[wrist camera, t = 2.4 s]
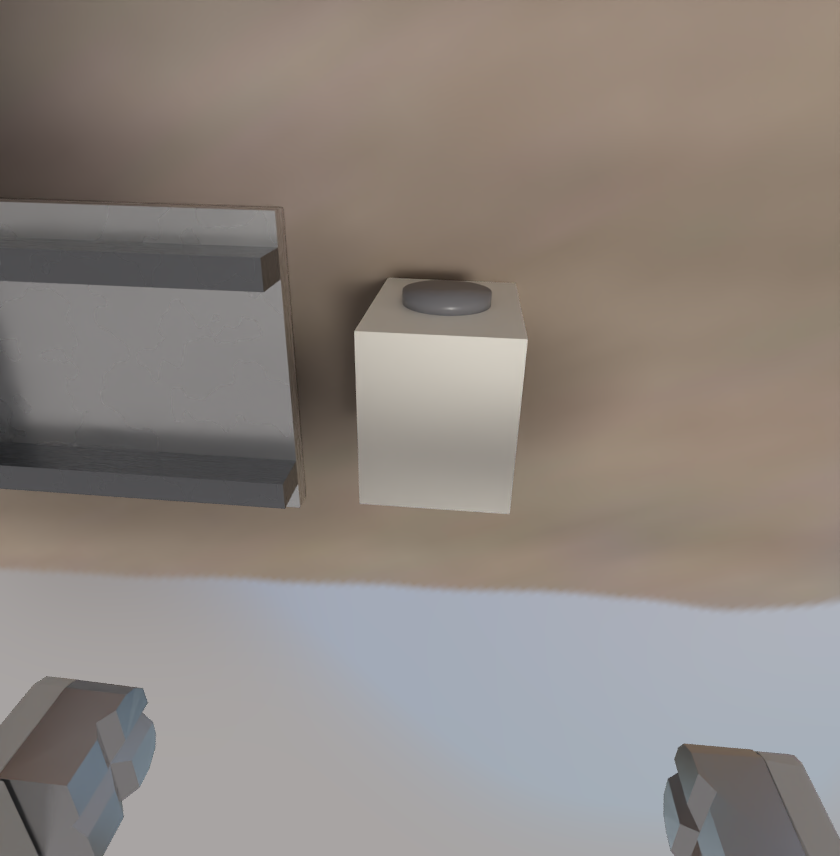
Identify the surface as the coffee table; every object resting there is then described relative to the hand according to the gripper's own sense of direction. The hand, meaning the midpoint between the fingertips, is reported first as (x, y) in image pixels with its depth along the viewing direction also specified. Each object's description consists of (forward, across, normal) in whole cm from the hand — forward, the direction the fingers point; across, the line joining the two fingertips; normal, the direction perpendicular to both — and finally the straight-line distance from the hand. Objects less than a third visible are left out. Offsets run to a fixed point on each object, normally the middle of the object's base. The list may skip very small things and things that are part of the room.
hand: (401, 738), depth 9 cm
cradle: (+17, +14, +1) cm, 23 cm away
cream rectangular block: (+18, 0, 0) cm, 18 cm away
